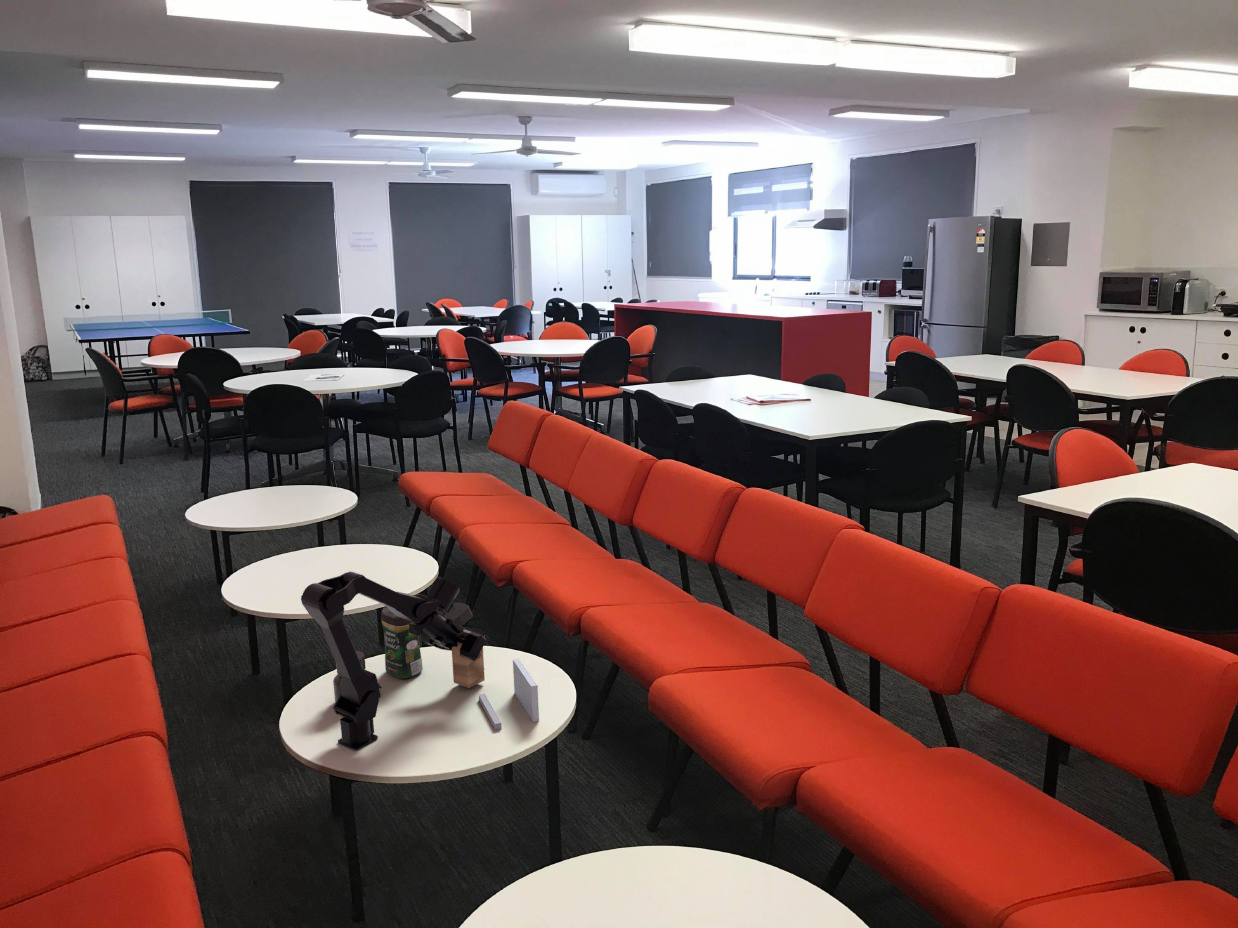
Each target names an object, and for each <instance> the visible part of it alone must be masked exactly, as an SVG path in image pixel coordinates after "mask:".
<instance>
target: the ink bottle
mask: <svg viewBox="0 0 1238 928" xmlns="http://www.w3.org/2000/svg"><path fill="white" fill-rule="evenodd" d="M355 651H356V654H357V656H358V658H359V661H360V663H361V666H362V668H363V669H365V670H366V658H365V653H364V652H362V651H359V650H355ZM335 666H336V667H335V668H336V675H335V676H334V678H333V681H332V683H333V685H332V686H333V691H334V692H333V694H334V704H335V703H336V701H337V700H338V698H339V696H340V695H341V689H340V683H341V678H342V676H341V673H340V671H339V669H338V666H337V664H336V663H335Z"/></svg>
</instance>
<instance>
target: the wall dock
mask: <svg viewBox="0 0 1238 928" xmlns="http://www.w3.org/2000/svg"><path fill="white" fill-rule="evenodd" d="M512 670H513V671H512V672H513V689H514V695H515V696H516V697H517V700H518V701H519V702H520V705H522V707H523V708H524V710H525V711H526V714H527V715H528V717H529V718H530V720H531V721H532V722H533V723H534V722H539V721H540V712H539V711H540V707H539V690H538V689H539V688H538V687H539V686H538V684H537V682H536V681H535V680H534V678H533V677H532V676H531V674H530V672H529V671H528V669H527V668H526V667H525V665H524V664H523V662H522V661H521V660H520V658H514V659H512ZM478 701H479V702H480V704H481V706H482V708H483V710H484V712H485V714H486V716H487V717H488V719H489V721H490V723H491V725H492V727H493V728H494V730H495V731H496V730H497V731H498V730H501V729H502V728H503V727H502V721H501V720H500V718H499V716H498V715H497V712H496V711H495V709H494V707H493V705H492V704H491V702H490V701H489V698H488V696H487V695H486V694H485V692H484V693H480V694H478Z"/></svg>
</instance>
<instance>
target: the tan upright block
mask: <svg viewBox="0 0 1238 928" xmlns="http://www.w3.org/2000/svg"><path fill="white" fill-rule="evenodd" d="M470 632H472V631H470V630H467V629H465V628H464V630H463V632H462V633H460V634H462V635H467V634H468V633H470ZM460 639H461V638H460ZM463 640H464V639H463ZM457 644H458V643H457ZM461 646H462V645H461V644H458V646H457V647H456V648H455V647H452V651H451V658H452V660H451V661H452V675H453V683H454V684H457V685H459V686H462V687H464V688H467V689H470V688H473V687H474V686H476V685H479V684H481V683H482V682H484V681H485V680H486V679H485V663H484V662H485V660H484V659H485V658H484V647H483V648H482V650H481V652H480V653H481V656H480V658H477V659H476V660H474V661H472V660H470V659H467V658H464V657H461V656H460V648H461Z"/></svg>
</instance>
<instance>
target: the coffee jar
mask: <svg viewBox="0 0 1238 928" xmlns="http://www.w3.org/2000/svg"><path fill="white" fill-rule="evenodd" d="M380 618H381V619H380V620H381V625H382V629H383V635H384V637H383V638H384V664H385V665H384V667H385V671H386V673H387V674H389V675H390V676H393V677H395V678H397V679H401V680H405V679H410V678H414V677H416V676H418V675H419V674H421V673H422V672H423V669H424V668H423V660H422V654H421V645H420V637H419V636H420V635H419V636H416V635H413V634H411V633H409V632H408V629H409V623H412V621H409V620H406V619H403V618H401V617H398V616H397V615H395V614H394V613H393V612H391V611H390V610H389V609H388V607H386V606H385V605H384V606H383V607H382V609H381V617H380Z"/></svg>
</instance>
